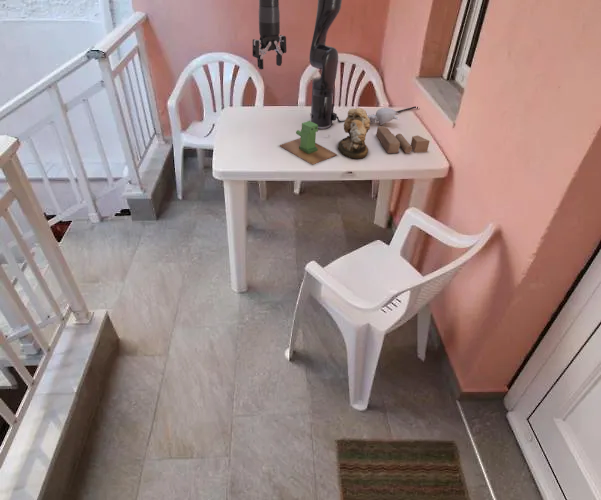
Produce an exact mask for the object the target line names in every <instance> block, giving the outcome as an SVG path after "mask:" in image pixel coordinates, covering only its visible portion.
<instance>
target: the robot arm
mask: <svg viewBox="0 0 601 500" xmlns="http://www.w3.org/2000/svg"><path fill="white" fill-rule="evenodd" d="M342 3H343V0H317V7H316V15H315V22H314V28H313V35H312V38H311V45H310V49H309V57H308V59H309V60H308V61H309V63H310V66H311V67H312V68H315V69H317V70H321V74H320V75H319V76H316V77H314V78H312V81H311V83H312V84H311V104H310V112H309V116H310V121H311V122H313V123H315V124H317V125H318V130H326V129H329V128H331V126H333V123H334V122H335V121H337V122H339V123H345V122H344V121H345V120H341V119H340V118H339V116H338V114H337V113H336V112H334V109H335V108H334V107H335V103H333V101H334V88H335V82H336V80H337V72H338V65H339V52H338V49H337V48H335V47H334V46H330V45H326V43H327V42H326V41H327V36H328V32H329V30H330V28H331V26H332V25H333V23H334V22H335V20H336V18H337V17H338V15H339V14H340V11H341V8H342ZM280 12H281V11H280V0H258V31H259V32H258V33H259V39H255V38H253V39H252V53H251V55H252V57H253V58H256V60H257V61H256V62H257V68H258V69H259V70H261V71H262V70H264V57H265V55H266V54H267V52H270V51H274V52H275V53H276V54H275V63H276V66H278V67H281V66H282V63H283V55H284V54H287V36H286V35H284V34H280V33H281V26H280V25H281V21H280V20H281V19H280V18H281V14H280ZM416 106H417V105H416ZM416 106H412V107H408V108H403V109H400V110H395V111H396V112H397V113H401V112H404V111H405V112H406V111H410V110H413V109H417V110H419V109H418V107H419V106H417V108H416Z"/></svg>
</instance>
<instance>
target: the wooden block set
mask: <svg viewBox="0 0 601 500" xmlns="http://www.w3.org/2000/svg"><path fill="white" fill-rule="evenodd" d="M375 135H376V137H377V138H378V139H379V141H380V142H381V143H380V144H381V146H382V147H383V149H384V150H385V152H386V153H387V154H398V153H399V150H400V148H401V149H402V150H403V151H404V153H406V154H409V153H411V152H413V153H428V150H429V144H430V140H428V139H426V138H424V137H422V136H420V135H413V136H412V137H411V142H410V143H409V141H408V140H407V139H406V138H405V136H404V135H403V134H401V133H396V134H394V133H392V132H391V130H390V129H389V128H388V127H385V126H382V125H379V126H377V127H376V134H375Z"/></svg>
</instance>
